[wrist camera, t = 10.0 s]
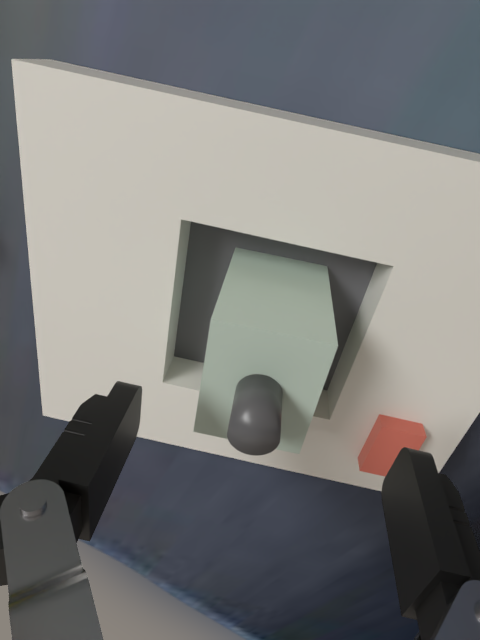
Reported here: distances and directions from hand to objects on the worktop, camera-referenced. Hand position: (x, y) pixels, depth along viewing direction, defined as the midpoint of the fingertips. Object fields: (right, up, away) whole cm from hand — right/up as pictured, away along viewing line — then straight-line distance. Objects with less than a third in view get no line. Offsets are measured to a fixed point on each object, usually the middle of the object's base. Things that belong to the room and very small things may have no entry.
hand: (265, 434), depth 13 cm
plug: (+1, +4, +6) cm, 8 cm away
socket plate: (+1, +4, +7) cm, 8 cm away
